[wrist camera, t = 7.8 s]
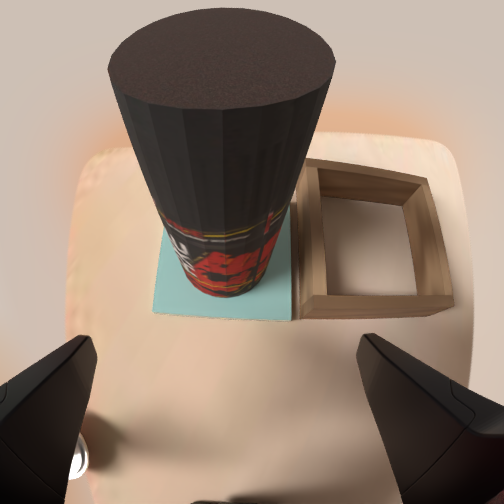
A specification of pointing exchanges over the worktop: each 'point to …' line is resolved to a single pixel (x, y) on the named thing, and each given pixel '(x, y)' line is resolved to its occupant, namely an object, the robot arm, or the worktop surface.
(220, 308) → the coaster
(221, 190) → the deodorant
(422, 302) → the tub
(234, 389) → the worktop surface
